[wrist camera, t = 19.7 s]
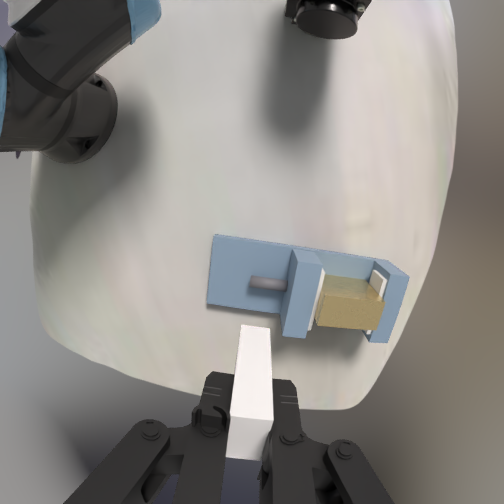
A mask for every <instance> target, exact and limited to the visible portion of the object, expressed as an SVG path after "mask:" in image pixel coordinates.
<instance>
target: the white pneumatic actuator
mask: <svg viewBox="0 0 504 504" xmlns="http://www.w3.org/2000/svg"><path fill="white" fill-rule="evenodd" d="M371 1H372V0H287V1H286V8H285V16H286V17H292V24H296V25H298V27H299V28H300V29H302V30H303V31H305V32H306V33H307V34H310V35H313V36H317V37H321V38H326V39H345V38H349V37H351V36H353V35H354V34H355V33H356V32H357V26H358V20H359V19H360V17H361V16H362V14H363V13H364V11H365V10H366V8H367V7H368V5H369V4H370V3H371Z"/></svg>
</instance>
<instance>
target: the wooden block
mask: <svg viewBox="0 0 504 504" xmlns="http://www.w3.org/2000/svg"><path fill="white" fill-rule="evenodd" d="M385 303H386V302H385V301H384V300H383V298H382V297H381V296H380V295H379V294H378V293H377V292H376V291H375V290H374V289H373V287H372V286H371V285H370V284H369V283H368V282H367V281H366V280H364V279H357V278H349V277H342V276H335V275H327V274H325V276H324V280H323V284H322V288H321V293H320V297H319V301H318V305H317V309H316V313H315V320H316V323H317V326H327V327H338V328H349V329H362V330H377V327H378V324H379V321H380V318H381V315H382V312H383V309H384V306H385Z"/></svg>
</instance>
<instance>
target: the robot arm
mask: <svg viewBox="0 0 504 504" xmlns="http://www.w3.org/2000/svg"><path fill="white" fill-rule="evenodd" d="M3 1H4V2H6V3H7V4H8V6H9V14H8V25H9V26H10V27H12V28H13V29H15V30H16V33H15V34H14V35H13V36H12V37H11V38H10V40H9V41H8V42H7V43H6V44H5V45H4V47H2V46H0V152H9V151H11V152H12V151H39V152H41V153H43V154H44V155H46V156H48V157H49V158H51V159H53V160H54V161H57V162H60V163H78V162H82V161H84V160H87V159H88V158H90V157H92V156H93V155H94V154H95V153H97V152H98V151H99V150H100V149H101V147H102V146H103V145H104V144H105V142H106V141H107V139H108V137H109V136H110V134H111V131H112V129H113V127H114V124H115V120H116V115H117V97H116V93H115V90H114V88H113V86H112V85H111V83H110V82H109V81H108V80H107V79H105V78H104V77H102V76H100V75H98V74H96V73H95V72H96V71H97V70H98V69H99V68H100V67H101V66H103V65H104V64H105V63H106V62H107V61H109V60H110V59H111V58H112V57H114V56H115V55H116V54H117V53H119V52H120V51H121V50H123V49H124V48H125V47H127V46H128V45H129V44H130V45H132V44H133V43H134V42H135V41H136V39H137V38H138V37H140V36H141V35H142V34H143V33H145V32H146V31H148V30H149V29H150V28H152V27H153V26H154V25H155V24H156V23H157V22H158V21H159V19H160V17H161V5H160V1H159V0H3ZM226 457H231V458H240V459H250V460H261V458H262V466H261V469H260V472H259V475H258V478H257V480H260V491H259V504H394V502H393V501H392V499H391V497H390V496H389V495H388V493H387V491H386V489H385V488H384V486H383V485H382V483H381V481H380V480H379V478H378V477H377V475H376V474H375V472H374V470H373V469H372V467H371V465H370V464H369V462H368V461H367V459H366V457H365V456H364V454H363V453H362V451H361V449H360V448H359V447H358V446H357V445H356V444H355V443H353V442H352V441H349V440H336V441H334V442H332V443H331V444H330V445H327V444H323V443H319V442H316V441H313V440H311V439H310V438H308V437H307V436H306V434H305V433H304V432H303V431H302V428H301V421H300V412H299V405H298V398H297V391H296V387H295V386H294V384H293V383H292V382H291V380H281V379H272V366H271V343H270V328H263V327H255V326H248V325H241V331H240V338H239V345H238V352H237V358H236V365H235V372H234V374H227V373H220V372H214V371H212V372H211V373H210V374H209V375H208V376H207V377H206V381H205V384H204V388H203V392H202V396H201V400H200V404H199V405H198V406H196V407H195V408H194V409H193V411H192V423H191V424H189V425H187V426H184V427H179V428H167V427H166V426H165V425H164V424H163V423H161V422H159V421H156V420H149V419H147V420H142V421H140V422H138V423H137V424H135V425H134V426H133V428H132V429H131V430H130V431H129V432H128V433H127V434H126V435H125V437H124V438H123V439H122V440H121V441H120V442H119V443H118V444H117V446H116V447H115V448H114V449H113V450H112V451H111V452H110V453H109V454H108V456H107V457H106V458H105V459H104V460H103V461H102V462H101V463H100V464H99V465H98V467H97V468H96V469H95V470H94V471H93V472H92V473H91V474H90V475H89V476H88V478H87V479H86V480H85V481H84V482H83V483H82V484H81V485H80V486H79V487H78V488H77V489H76V490H75V492H74V493H73V494H72V495H71V496H70V497H69V498H68V499H67V500H66V501H65V502H64V503H63V504H152V503H153V501H154V500H155V499H156V497H157V495H158V494H159V493H160V491H161V490H162V488H163V486H164V485H165V484H166V482H167V480H168V479H169V477H170V476H171V474H179V478H178V482H177V486H176V491H175V494H174V498H173V502H172V504H220V499H221V490H222V483H223V474H224V466H225V458H226Z"/></svg>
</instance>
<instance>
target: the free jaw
mask: <svg viewBox="0 0 504 504" xmlns="http://www.w3.org/2000/svg"><path fill="white" fill-rule="evenodd" d="M322 267H323V264H322V263H321V261H320V260H319V258H318V257H317V255H316V254H315V252H313V251H306V250H300V249H292V255H291V260H290V266H289V271H288V276H287V280H281V279H274V278H267V277H260V276H253V275H251V278H250V285H249V287H253V288H260V289H267V290H274V291H281V292H284V296H283V301H282V306H281V311H280V321H281V329H282V336H286V337H295V338H306V334H307V330H311V328H312V325H313V321H314V317H315V313H316V309H317V305H318V301H319V297H320V293H321V288H322V284H323V280H324V276H325V271H324V270H323V268H322Z"/></svg>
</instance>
